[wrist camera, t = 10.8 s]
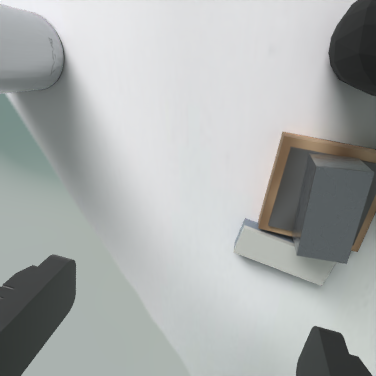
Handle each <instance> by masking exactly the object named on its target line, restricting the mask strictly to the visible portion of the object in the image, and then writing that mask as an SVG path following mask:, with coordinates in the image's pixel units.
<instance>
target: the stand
mask: <svg viewBox="0 0 376 376" xmlns="http://www.w3.org/2000/svg"><path fill="white" fill-rule="evenodd" d="M309 153H315V154H325V155H334V156H344V157H354V158H359V159H360V160H361V161H362V162H363V163H364V164H365V165H367V166H368V167H369V168H370V169H371V170H372V171H373V172H374V176H373V180H372V183H371V186H370V189H369V193H368V196H367V199H366V202H365V206H364V209H363V212H362V216H361V219H360V222H359V225H358V229H357V232H356V235H355V238H354V242H353V245H352V248H351V251H355V252H358V250H359V248H360V246H361V243H362V241H363V239H364V237H365V235H366V232H367V230H368V228H369V226H370V223H371V221H372V219H373V217H374V215H375V212H376V149H371V148H366V147H360V146H355V145H350V144H345V143H339V142H334V141H329V140H323V139H318V138H313V137H308V136H302V135H297V134H292V133H286V132H283V133H282V136H281V140H280V144H279V147H278V151H277V154H276V158H275V162H274V165H273V169H272V173H271V176H270V180H269V183H268V187H267V191H266V194H265V198H264V202H263V205H262V209H261V212H260V216H259V220H258V228H259V229H263V230H267V231H272V232H276V233H280V234H284V235H288V236H293V235H292V230H293V226H294V221H295V216H296V211H297V207H298V202H299V197H300V193H301V188H302V183H303V178H304V174H305V169H306V164H307V159H308V155H309Z"/></svg>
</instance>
